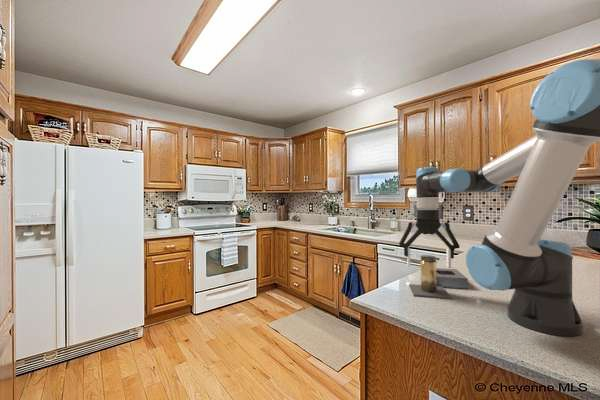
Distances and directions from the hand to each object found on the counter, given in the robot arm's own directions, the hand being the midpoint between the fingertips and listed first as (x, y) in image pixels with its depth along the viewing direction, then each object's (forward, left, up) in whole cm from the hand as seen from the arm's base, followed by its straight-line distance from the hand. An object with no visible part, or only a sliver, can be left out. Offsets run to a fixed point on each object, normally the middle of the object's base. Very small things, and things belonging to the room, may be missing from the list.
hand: (428, 266), depth 97 cm
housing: (+14, -9, -10) cm, 19 cm away
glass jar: (0, 0, -9) cm, 9 cm away
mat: (0, 0, -10) cm, 10 cm away
